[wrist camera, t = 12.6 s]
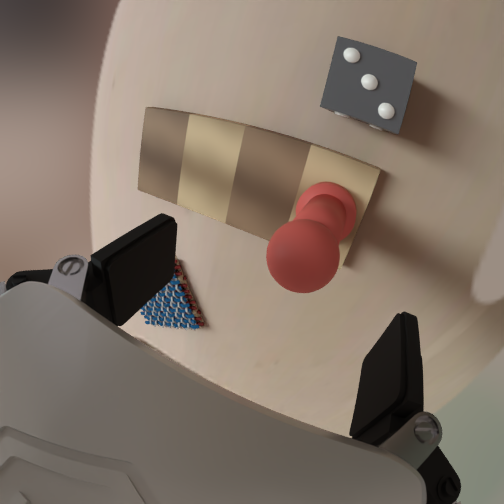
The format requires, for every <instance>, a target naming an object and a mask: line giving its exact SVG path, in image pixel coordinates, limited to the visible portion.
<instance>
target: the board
mask: <svg viewBox="0 0 504 504" xmlns="http://www.w3.org/2000/svg"><path fill="white" fill-rule="evenodd" d="M379 173H380V168H378V167H376V166H373V165H371V164H368V163H366V162H363V161H361V160H358V159H356V158H353V157H350V156H348V155H345V154H342V153H339V152H337V151H334V150H331V149H328V148H325V147H322V146H319V145H316V144H313V143H310V142H307V141H304V140H301V139H298V138H294V137H291V136H288V135H284V134H281V133H277V132H274V131H270V130H266V129H262V128H259V127H255V126H251V125H247V124H242V123H238V122H234V121H229V120H225V119H220V118H215V117H211V116H205V115H200V114H195V113H189V112H183V111H177V110H171V109H164V108H156V107H146V109H145V116H144V124H143V132H142V141H141V152H140V163H139V177H138V190H140V191H142V192H145V193H148V194H150V195H153V196H156V197H158V198H161V199H163V200H166V201H169V202H171V203H174V204H177V205H179V206H182V207H184V208H187V209H190V210H192V211H195V212H197V213H200V214H202V215H205V216H208V217H210V218H213V219H215V220H218V221H220V222H223V223H225V224H228V225H231V226H233V227H236V228H238V229H241V230H243V231H246V232H248V233H251V234H253V235H256V236H258V237H261V238H263V239H266V240H268V241H270V239H271V237H272V236H273V234H274V233H275V232H276V231H277V230H278V229H279V228H280V227H281V226H282V225H284V224H286V223H288V222H290V221H293V219H294V218H295V217H296V206H297V202H298V200H299V198H300V197H301V195H302V194H303V193H304V192H305V191H306V190H307V189H308V188H309V187H311V186H312V185H314V184H316V183H319V182H333V183H337V184H339V185H341V186H343V187H344V188H345V189H347V190H348V191H349V193H350V194H351V195H352V197H353V199H354V201H355V204H356V210H357V213H356V220H355V224H354V227H353V229H352V231H351V232H350V234H349V235H348V236H347V237H345V238H344V239H343V240H341V241H340V243H339V250H340V262H339V266H338V269H339V270H340V269H341V267H342V265H343V263H344V260H345V258H346V256H347V254H348V251H349V249H350V247H351V244H352V242H353V240H354V237H355V235H356V233H357V230H358V228H359V225H360V223H361V220H362V218H363V215H364V213H365V210H366V208H367V205H368V203H369V200H370V197H371V195H372V192H373V189H374V187H375V184H376V181H377V179H378V176H379Z"/></svg>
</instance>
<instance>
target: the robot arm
mask: <svg viewBox="0 0 504 504" xmlns="http://www.w3.org/2000/svg"><path fill="white" fill-rule="evenodd" d="M176 237H177V223H176V222H175V219H174V218H173V217H171V216H168V215H166V214H163V213H161V214H159V215H157V216H155V217H154V218H152V219H150V220H148V221H147V222H145V223H143V224H141V225H140V226H138V227H136V228H135V229H133V230H131V231H129V232H128V233H126V234H124V235H123V236H121V237H119V238H118V239H116V240H114V241H113V242H111V243H110V244H108V245H106V246H105V247H103V248H102V249H100V250H98V251H97V252H95V253H94V254H92V255H91V261H90V262H87V259H86V258H84V257H83V256H80V255H68V256H65V257H63V258H61V259H60V260H59V261H57V262H56V264H55V266H54V268H53V269H50V270H49V269H48V270H31V271H20V272H16V273H15V274H14V275H12V276H11V277H10V278H9V279H8V281H7V283H6V284H5V281H4V282H0V504H461V503H460V502H458V503H457V501H456V500H457V498H458V496H459V493H460V490H461V483H460V479H459V477H458V475H457V473H456V472H455V470H454V469H453V467H452V466H451V464H450V463H449V461H448V460H447V458H446V457H445V455H444V454H443V452H442V451H441V449H440V448H439V447H438V445H439V443H440V441H441V438H442V427H441V424H440V422H439V420H438V419H437V418H436V417H435V416H434V415H433V414H431V413H429V412H424V411H423V405H424V397H423V365H422V356H421V351H420V339H419V329H418V320H417V317H416V316H414V315H412V314H409V313H407V312H402V313H401V314H399V313H398V314H396V316H395V317H394V319H393V320H392V322H391V323H390V324H389V326H388V327H387V329H386V330H385V331H384V333H383V334H382V336H381V337H380V338H379V340H378V341H377V342H376V344H375V345H374V346H373V348H372V349H371V350H370V352H369V353H368V354H367V355H366V357H365V359H364V361H363V363H362V369H361V376H360V382H359V388H358V393H357V399H356V404H355V409H354V414H353V419H352V423H351V428H350V433H349V434H350V436H352V438H348V437H345V436H342V435H339V434H336V433H333V432H330V431H327V430H324V429H321V428H318V427H315V426H313V425H310V424H307V423H304V422H301V421H299V420H296V419H293V418H291V417H288V416H286V415H283V414H281V413H278V412H276V411H273V410H271V409H268V408H266V407H264V406H261V405H259V404H257V403H254V402H252V401H250V400H248V399H246V398H243V397H241V396H239V395H237V394H235V393H233V392H231V391H228V390H226V389H224V388H222V387H220V386H218V385H216V384H214V383H212V382H210V381H208V380H206V379H204V378H203V377H201V376H199V375H197V374H195V373H193V372H191V371H189V370H188V369H186V368H184V367H182V366H180V365H179V364H177V363H175V362H173V361H172V360H170V359H168V358H167V357H165V356H163V355H161V354H160V353H158V352H156V351H155V350H153V349H151V348H150V347H148V346H147V345H145V344H143V343H142V342H140V341H139V340H137V339H136V338H134V337H132V336H131V335H129V334H128V333H126V332H125V331H123V330H122V329H120V328H119V327H117V326H122V325H123V324H124V323H126V322H127V321H128V320H129V319H130V318H131V317H132V316H133V315H134V314H135V313H136V312H137V311H139V310H140V309H141V308H142V307H143V306H144V305H145V304H146V303H147V302H148V301H149V300H151V299H152V298H153V297H154V296H155V295H156V294H157V293H158V292H159V291H160V290H162V289H163V288H164V287H165V286H166V285H167V284H168V283H169V282H170V281H171V280H172V279H173V277H174V270H175V252H176Z"/></svg>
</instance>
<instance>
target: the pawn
mask: <svg viewBox="0 0 504 504" xmlns="http://www.w3.org/2000/svg"><path fill="white" fill-rule="evenodd" d="M356 213H357V210H356V204H355V201H354V199H353V197H352V195H351V194H350V193H349V191H348V190H347V189H345V188H344V187H343V186H341V185H339V184H337V183H333V182H319V183H316V184H314V185H312V186H311V187H309V188H308V189H307V190H306V191H305V192H304V193H303V194H302V195H301V197H300V198H299V200H298V202H297V206H296V217H295V218H294V219H293V221H290V222H288V223H286V224H284V225H282V226H281V227H280V228H279V229H278V230H277V231H276V232H275V233H274V234H273V236H272V237H271V239H270V241H269V244H268V247H267V255H266V258H267V265H268V268H269V271H270V273H271V275H272V276H273V278H274V279H275V280H276V281H277V282H278V283H279V284H280V285H281V286H282V287H284V288H285V289H287V290H290V291H293V292H297V293H309V292H314V291H316V290H319V289H321V288H322V287H324V286H325V285H327V284H328V283H329V282H330V281H331V279H332V278H333V277H334V275H335V274H336V272H337V269H338V266H339V262H340V250H339V243H340V241H341V240H343V239H344V238H345V237H347V236H348V235H349V234H350V232H351V231H352V229H353V227H354V224H355V220H356Z"/></svg>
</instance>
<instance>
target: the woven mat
mask: <svg viewBox="0 0 504 504" xmlns="http://www.w3.org/2000/svg"><path fill="white" fill-rule="evenodd" d="M175 264H176V266H175V269H177V270H178V272H175V270H174V277H173V279H172V280H171V281H170V282H169V283H168V284H167V285H166V286H165V287H164V288H163V289H162V290H160V291H159V292H158V293H157V294H156V295H155V296H154V297H153V298H152V299H151V300H149V301H148V302H147V303H146V304H145V305H144V306H143V307H142V308H141V309H142V310H143V311H144V312H140V313H141V315H145V316H144V317H145V318H147V319H148V320H149V321H145V323H146V324H151V325H154V327H156V325H158V324H159V325H161V326H162V327H163V328H164V326H165V327H169V328H171V326H172V327H174V328H177V329H178V327H179V328H181V329H182V327H183V328H185V330H187V328H189V329H191V330H192V328H193V330H195V329H196V328H197V329H198V328H199V326H203V325H204V322H203V319H202V317H201V315H200V314H201V312H200V310H198V307H197V305H196V303H195V301H194V298H193V296H192V294H191V291H190V289H189V286H188V284H187V281H186V279H187V278H186V276H183V275H184V274H183V272H182V269H181V266H180V264H179V261H178V259H177V257H176V255H175ZM183 287H185V290H183V289H182V288H183ZM188 299H190V301H188ZM189 304H192V306H190V305H189ZM196 320H199V321H200V322H197V321H196ZM159 325H158V326H159ZM181 326H182V327H181Z"/></svg>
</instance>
